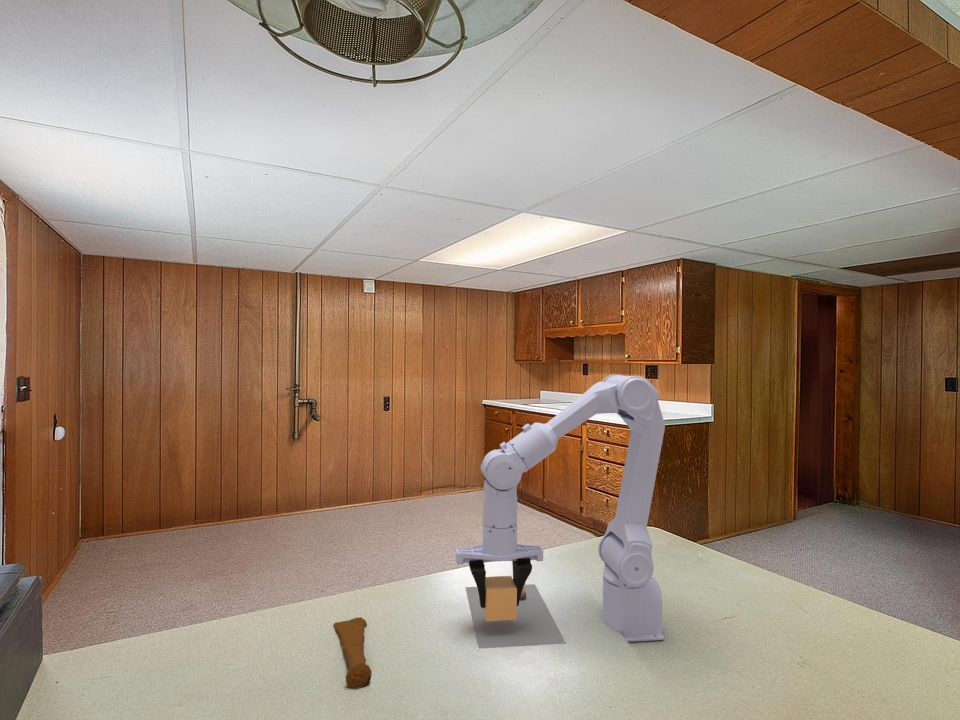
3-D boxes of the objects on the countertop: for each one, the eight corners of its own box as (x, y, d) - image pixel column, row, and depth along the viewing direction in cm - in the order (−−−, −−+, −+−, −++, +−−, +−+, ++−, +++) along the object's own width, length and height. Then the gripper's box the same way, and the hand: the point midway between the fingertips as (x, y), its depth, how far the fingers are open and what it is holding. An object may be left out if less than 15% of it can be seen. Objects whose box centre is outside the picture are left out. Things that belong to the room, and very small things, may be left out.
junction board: (534, 591, 101) (535, 569, 101) (565, 652, 80) (566, 624, 80) (465, 594, 100) (465, 572, 99) (478, 657, 79) (479, 628, 79)
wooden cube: (510, 604, 87) (511, 575, 87) (516, 619, 82) (516, 588, 82) (482, 606, 87) (482, 577, 87) (486, 621, 82) (486, 590, 82)
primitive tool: (332, 625, 88) (333, 605, 88) (364, 620, 90) (365, 600, 90) (345, 695, 70) (346, 669, 70) (385, 686, 72) (385, 661, 72)
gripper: (536, 514, 89) (535, 590, 90) (454, 516, 88) (454, 594, 88) (546, 527, 82) (546, 610, 83) (458, 530, 81) (457, 615, 81)
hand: (499, 604), depth 85 cm, fingers closed on wooden cube, 5 cm apart
